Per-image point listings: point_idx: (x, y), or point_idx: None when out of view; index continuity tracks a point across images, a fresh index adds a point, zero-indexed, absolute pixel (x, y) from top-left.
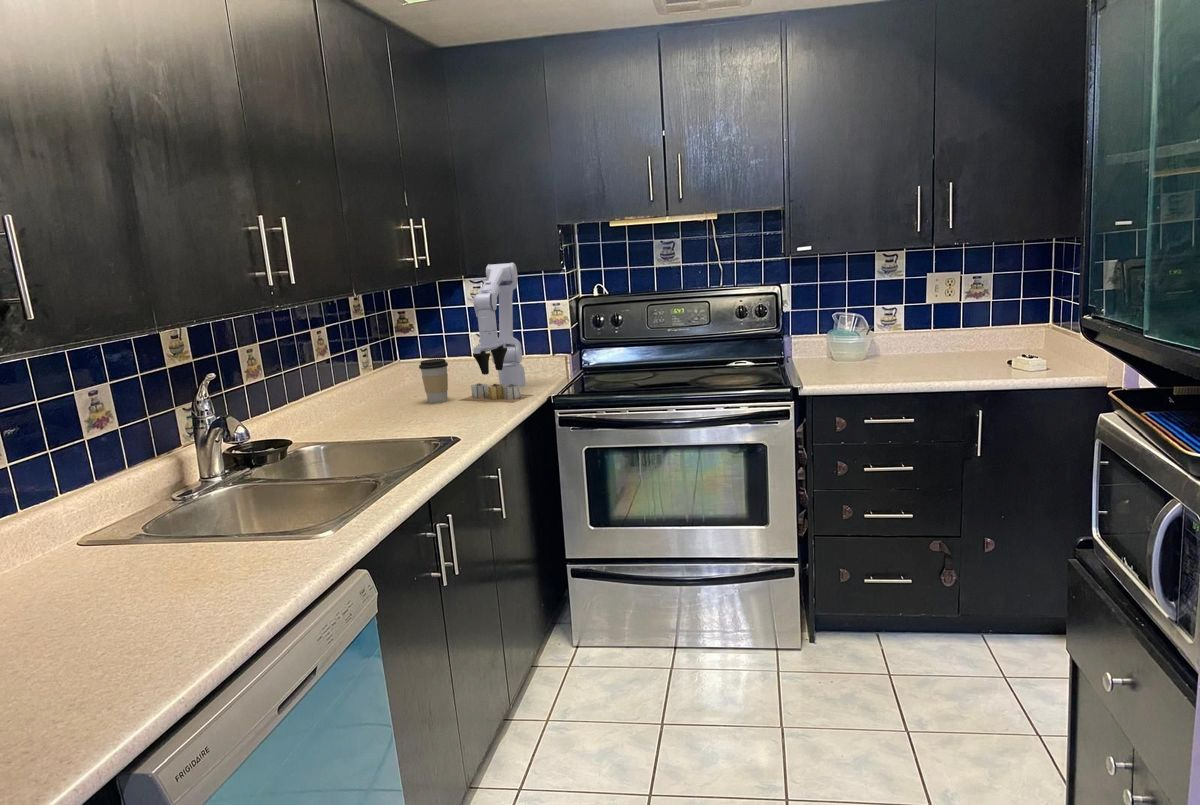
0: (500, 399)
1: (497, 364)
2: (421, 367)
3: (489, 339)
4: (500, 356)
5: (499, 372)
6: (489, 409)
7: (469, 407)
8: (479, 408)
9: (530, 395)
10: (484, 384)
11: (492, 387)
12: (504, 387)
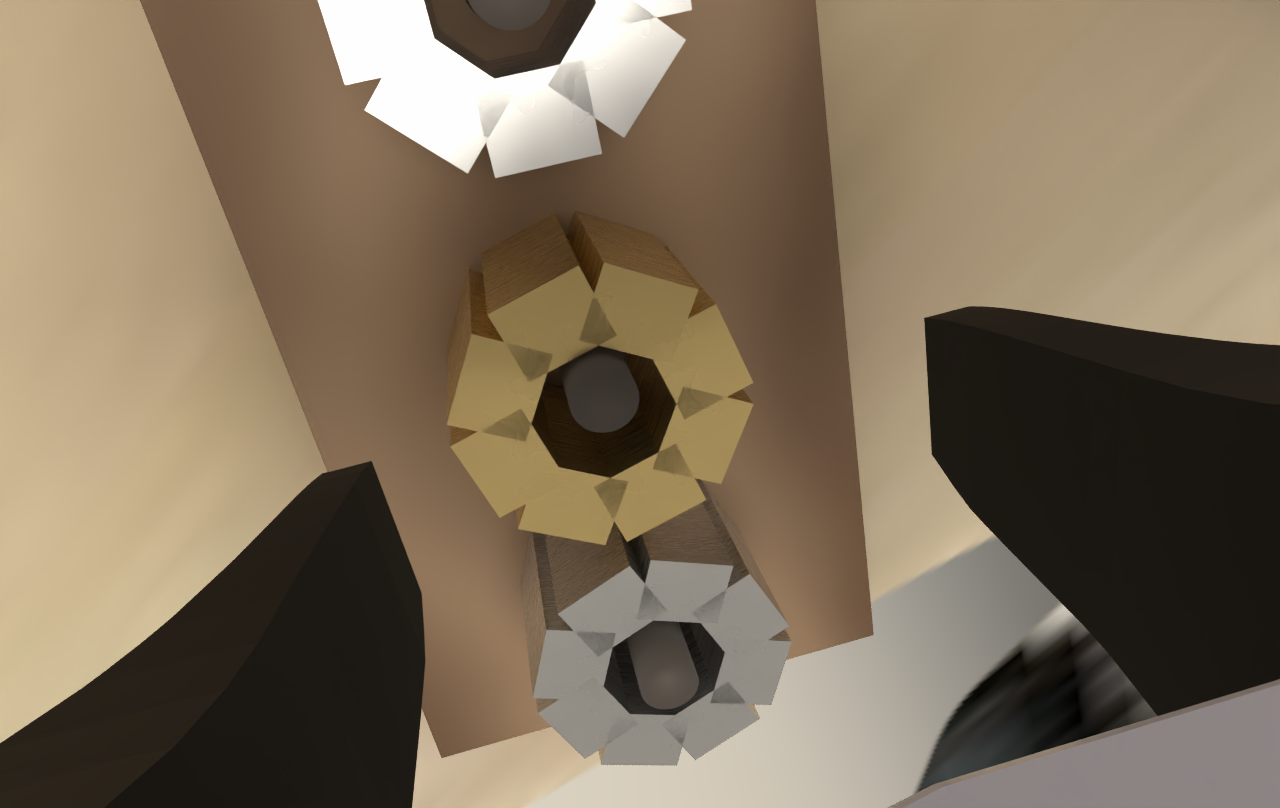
0: None
1: (1013, 431)
2: None
3: None
4: (1191, 691)
5: None
6: (197, 574)
7: (91, 191)
8: (150, 403)
9: (829, 625)
10: (613, 54)
11: (468, 465)
12: (537, 665)
